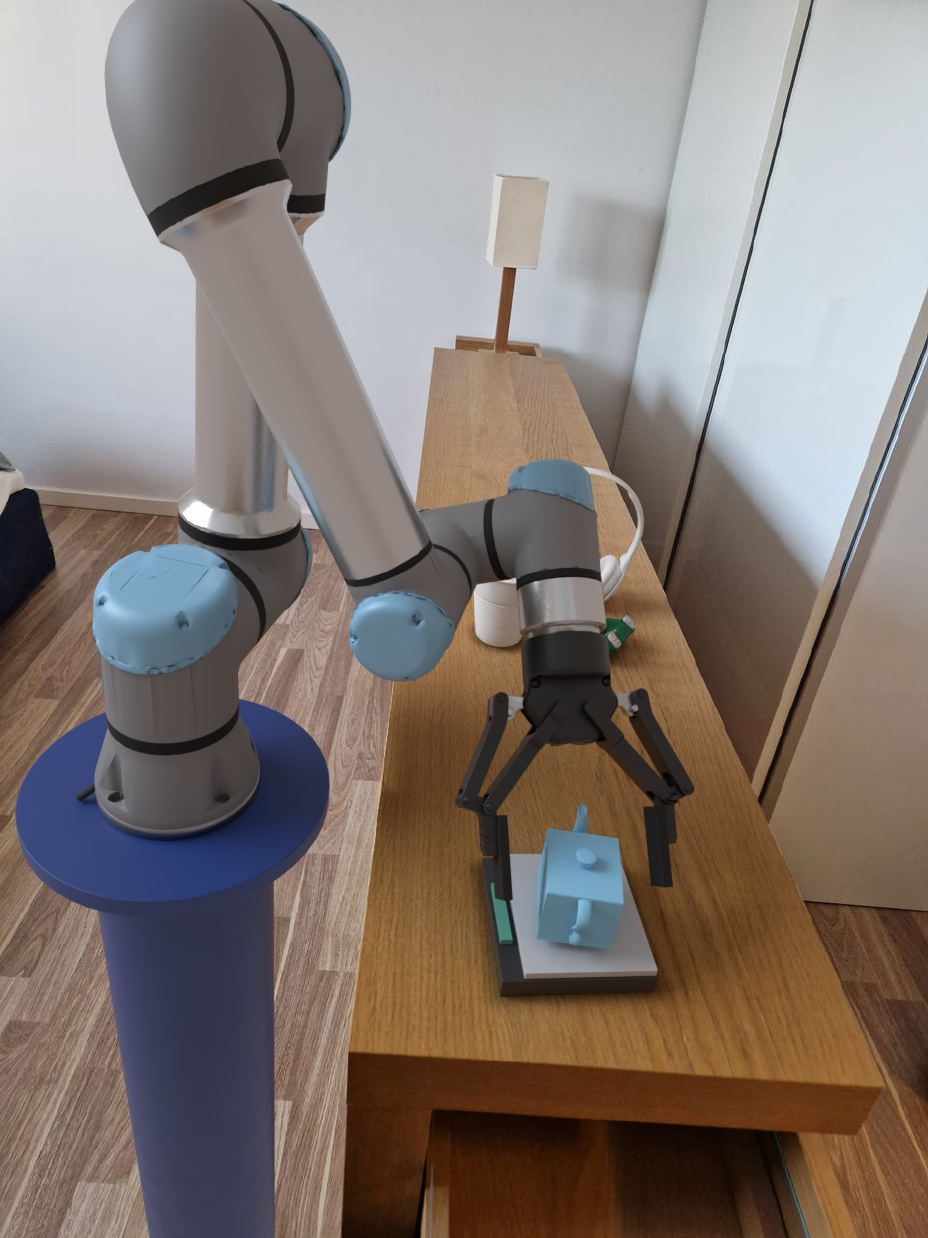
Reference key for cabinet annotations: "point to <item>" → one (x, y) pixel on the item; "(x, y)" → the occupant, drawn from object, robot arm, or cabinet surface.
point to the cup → (497, 613)
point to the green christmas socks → (618, 632)
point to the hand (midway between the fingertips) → (584, 893)
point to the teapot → (579, 887)
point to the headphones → (609, 564)
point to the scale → (560, 944)
